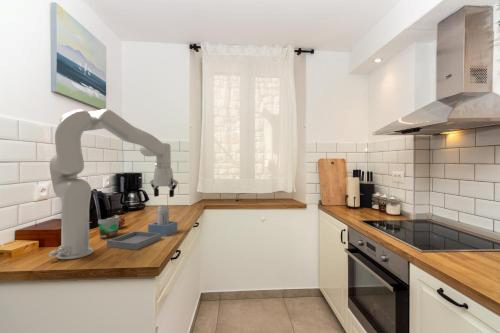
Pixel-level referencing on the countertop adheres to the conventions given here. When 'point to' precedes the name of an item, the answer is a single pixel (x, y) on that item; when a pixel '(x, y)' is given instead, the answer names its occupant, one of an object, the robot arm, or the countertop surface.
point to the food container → (108, 227)
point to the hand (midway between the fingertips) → (164, 196)
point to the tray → (134, 240)
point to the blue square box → (163, 228)
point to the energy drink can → (163, 215)
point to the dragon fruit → (120, 221)
